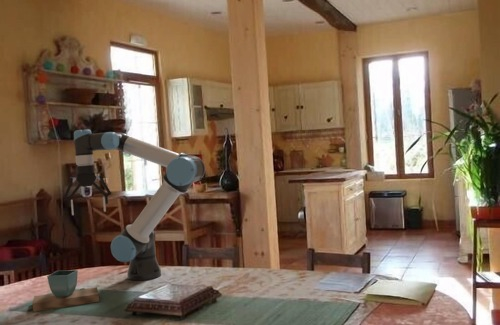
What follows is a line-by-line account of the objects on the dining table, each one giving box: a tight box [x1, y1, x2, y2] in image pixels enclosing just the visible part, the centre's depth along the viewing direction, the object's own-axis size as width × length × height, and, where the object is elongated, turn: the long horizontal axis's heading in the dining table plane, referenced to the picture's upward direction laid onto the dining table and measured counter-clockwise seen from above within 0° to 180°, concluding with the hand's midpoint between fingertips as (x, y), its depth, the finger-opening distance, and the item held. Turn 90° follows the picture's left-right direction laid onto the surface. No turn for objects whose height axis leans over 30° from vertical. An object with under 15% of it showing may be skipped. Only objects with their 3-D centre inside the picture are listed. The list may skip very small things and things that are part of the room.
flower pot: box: [47, 269, 79, 297], centre depth 221 cm, size 9×9×9 cm
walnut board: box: [32, 287, 100, 312], centre depth 221 cm, size 24×12×3 cm, turn 108°
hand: (89, 213), depth 248 cm, fingers open, 13 cm apart
